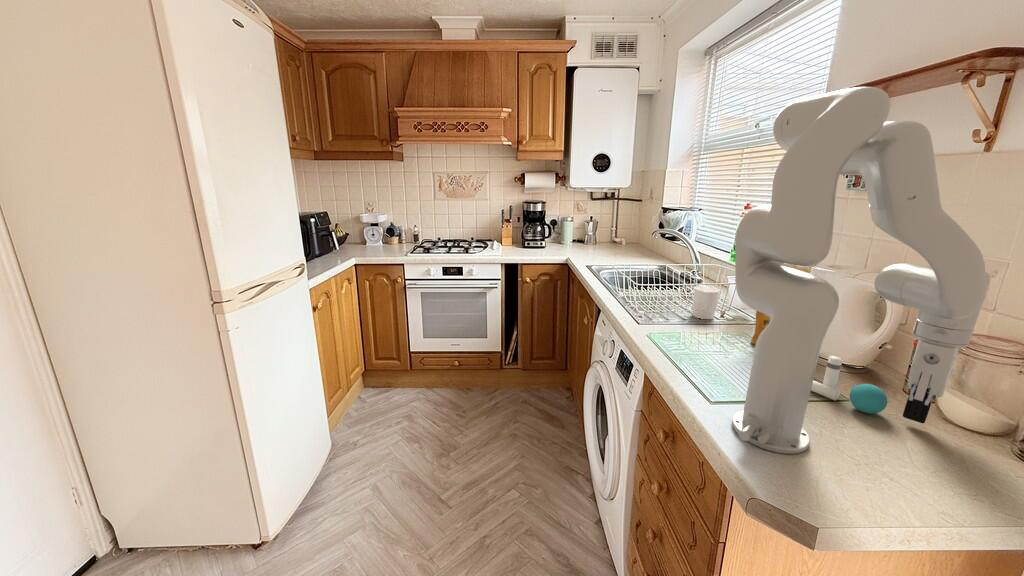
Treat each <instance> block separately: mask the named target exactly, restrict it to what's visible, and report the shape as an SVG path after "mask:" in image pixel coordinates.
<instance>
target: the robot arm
mask: <svg viewBox="0 0 1024 576" xmlns="http://www.w3.org/2000/svg"><path fill="white" fill-rule="evenodd" d="M890 110H891V98H890V96H889V94H888V93H887V92H886V91H885V90H884V89H881V88H880V87H879V88H878V87H874V86H857V87H851V88H845V89H844V88H843V89H840V90H836V91H831V92H827V93H821V94H819V95H818V94H817V95H814V96H809V97H804V98H801V99H797V100H795V101H792V102H791V103H788V104H787V105H786V106H785V107H783V108H782V109H781V110H780V111H779V112H778V114H777V115H776V117H775V119H774V122H773V128H772V129H773V131H772V132H773V136H774V140H775V142H776V143H777V145H779V147H780V148H782V149H783V150H784V151H785V152H786V153H784V155H783V156H782V158H781V159H780V162H779V163H778V166H777V168H776V170H775V172H774V175H773V180H772V191H771V200H770V204H762V205H759V206H755V207H754V208H752V209H750V210H749V211H748V212H747V213H746V214H745V215H744V216H743V217H742V219H741V221H740V222H739V224H738V226H737V229H736V232H735V233H736V234H735V242H734V244H735V245H734V246H735V250H734V251H735V252H734V255H735V256H734V260H735V261H734V265H735V266H734V267H735V269H734V274H735V275H734V278H735V280H734V282H735V290H736V294H737V297H738V298H739V300H740V301H741V302H742V303H743V304H744V305H745V306H747V307H749V308H751V309H752V310H754V311H759V312H761V313H763V314H765V315H766V316H768V317H770V322H769V324H768V325H767V326H766V328H765V329H764V330H763V331H762V332H761V334H760V335H759V337H758V339H757V342H756V344H755V346H754V352H753V353H754V354H753V359H752V363H751V368H750V369H751V370H750V373H749V380H748V384H747V385H748V386H747V390H746V394H745V395H746V396H745V400H744V401H745V402H744V407H743V410H741V411H738V412H735V414H734V415H733V416H732V420H731V425H732V427H733V430H734V431H735V432H736V434H738V437H739V438H740V440H742V441H743V442H749V443H750V444H752V445H753V446H756V447H758V448H760V449H764V450H765V451H770V452H774V453H778V454H783V455H784V454H789V455H794V454H800V453H803V452H805V451H807V449H809V446H810V443H811V441H810V436H809V434H808V432H807V431H806V430H805V429H804V428H803V425H804V421H805V416H806V413H807V408H808V403H809V400H810V396H811V392H812V391H811V387H812V383H813V380H814V379H815V374H816V370H817V369H816V368H817V365H818V364H817V363H818V361H819V357H820V353H821V349H822V345H823V343H824V340H825V338H826V335H827V333H828V330H829V329H830V326H831V325H832V324H833V321H834V319H835V317H836V315H837V313H838V309H839V306H840V298H839V294H838V291H837V290H836V288H835V287H834V286H833V285H832V284H831V283H830V282H829V281H827V280H825V279H824V278H823V277H820V276H818V275H817V274H816V275H813V274H810V273H807V272H804V271H800V270H797V269H794V268H790V267H786V266H784V263H785V264H789V265H794V266H801V267H806V266H813V265H816V266H817V265H818V264H820V263H822V261H824V260H825V259H826V258H827V257H828V255H829V253H830V251H831V247H832V242H833V234H834V222H835V209H836V208H835V207H836V195H837V188H838V187H837V186H838V181H839V178H840V175H841V176H862V177H863V180H864V181H863V182H864V185H865V190H866V193H867V199H868V206H869V212H870V216H871V221H872V222H873V224H874V225H875V227H878V228H879V230H882V231H883V232H884V233H885V234H887V235H889V236H890V237H892V238H893V239H895V240H898V241H899V242H901V243H903V244H904V245H906V246H908V247H909V248H911V249H912V250H913V251H915V252H916V253H918V254H919V255H920V256H921V257H922V258H923V259H924V260H925V261H926V262H927V263H928V265H921V264H916V263H908V262H906V263H903V262H902V263H896V264H891V265H889V266H887V267H885V268H883V269H881V271H880V272H878V273H877V275H876V277H875V279H874V285H873V286H874V288H875V291H876V292H877V294H878V295H879V296H880V297H882V299H884V300H887V301H889V302H891V303H894V304H897V305H899V306H904V307H907V308H909V309H912V310H913V309H914V310H917V314H916V317H915V320H914V325H913V328H912V331H911V336H913V338H914V339H915V338H916V339H918V341H917V345H916V348H915V351H914V355H913V359H912V361H911V366H910V371H909V375H908V380H907V388H908V389H909V390H911V391H910V395H908V398H907V400H906V403H905V407H904V409H903V413H902V417H903V418H905V419H908V420H912V421H914V422H916V423H917V422H918V423H920V424H925V423H926V420H927V417H928V414H929V411H930V408H931V406H932V402H931V400H932V397H933V396H936V398H938V399H939V398H943V397H944V395H945V392H946V389H947V387H948V384H949V380H950V378H951V375H952V372H953V369H954V366H955V364H956V363H955V362H956V360H957V357H958V353H959V349H965V348H968V347H969V344H970V342H971V339H972V336H973V334H974V330H975V327H976V324H977V322H978V319H979V315H980V313H981V310H982V306H983V305H984V302H985V300H986V297H987V292H988V289H989V286H990V283H991V275H990V274H989V272H987V271H986V264H985V263H986V262H985V259H984V256H983V254H982V251H981V250H980V248H979V245H977V244H976V242H975V241H974V240H973V238H971V236H970V235H969V234H968V233H967V232H966V231H965V230H964V229H963V227H962V226H960V225H959V224H958V222H956V221H955V220H954V218H953V217H951V216H950V215H948V213H946V212H945V211H944V208H943V207H942V203H941V196H940V190H939V187H940V186H939V181H938V174H937V167H936V160H935V152H934V145H933V139H932V135H931V132H930V130H929V129H928V128H927V126H926V125H924V124H923V123H920V122H917V121H913V120H894V121H887V120H888V117H889V114H890Z"/></svg>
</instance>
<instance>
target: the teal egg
mask: <svg viewBox="0 0 1024 576" xmlns="http://www.w3.org/2000/svg"><path fill="white" fill-rule="evenodd" d="M849 401H850V403H851V405H852V406H853V407H854V408H855V409H857V410H858V411H860V412H862V413H865V414H873V415H874V414H879V413H881V412H883V411H884V410H885V409H886V407H887V405H888V397H887V395H886V393H885V392H884V391H883V390H882V389H881V388H880V387H878V386H877V385H874V384H871V383H860V384H857V385H855V386H854V387H853V388H852V389H851V390H850V392H849Z"/></svg>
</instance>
